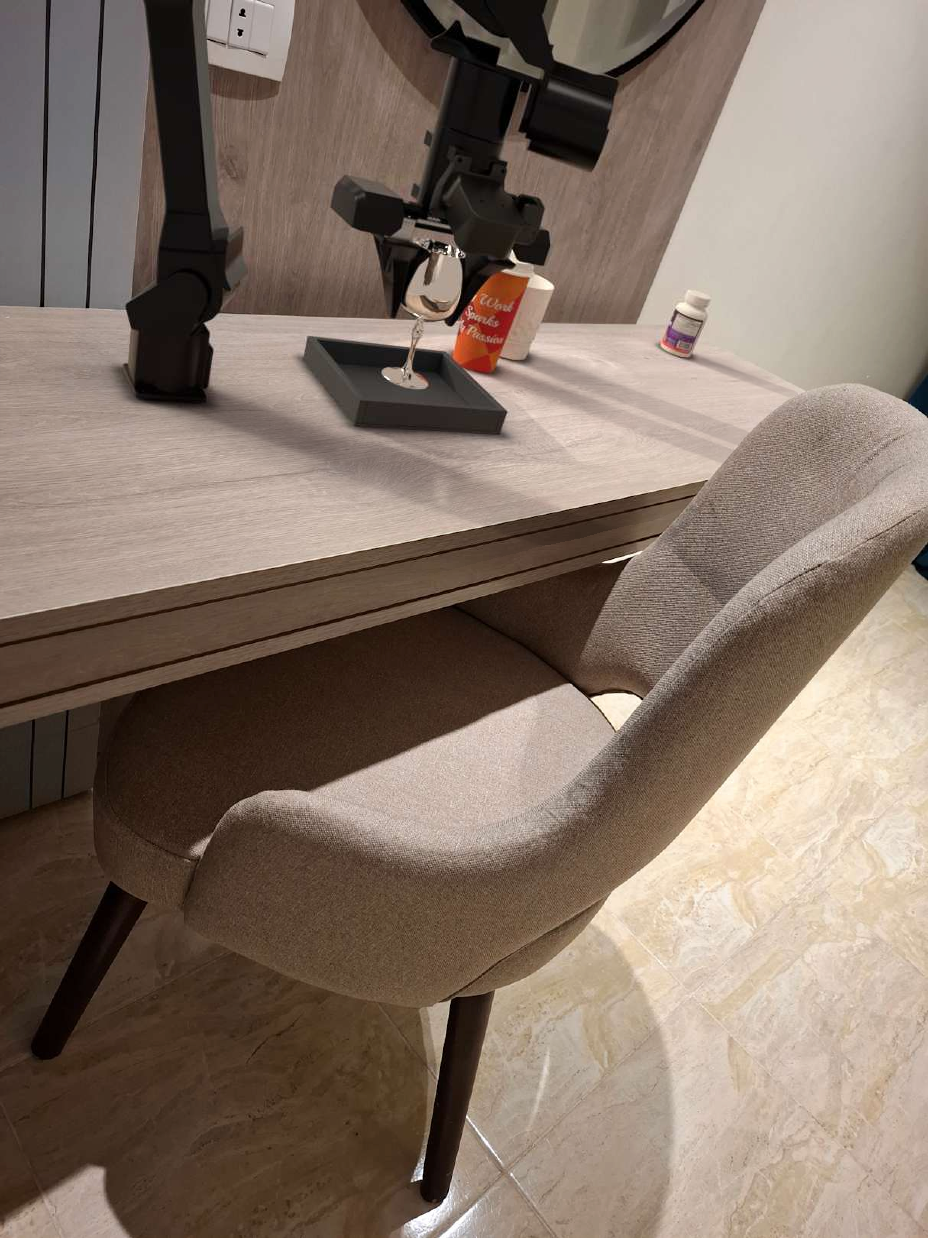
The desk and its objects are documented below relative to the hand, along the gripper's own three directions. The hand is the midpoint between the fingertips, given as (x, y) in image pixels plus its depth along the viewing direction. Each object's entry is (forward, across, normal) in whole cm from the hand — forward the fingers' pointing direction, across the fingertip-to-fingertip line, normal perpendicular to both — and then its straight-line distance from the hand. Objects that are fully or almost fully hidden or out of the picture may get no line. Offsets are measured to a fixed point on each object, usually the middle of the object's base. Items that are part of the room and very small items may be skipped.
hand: (419, 320), depth 81 cm
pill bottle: (+13, +71, +41) cm, 83 cm away
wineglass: (+6, 0, 0) cm, 6 cm away
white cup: (+13, +31, +31) cm, 46 cm away
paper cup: (+13, +23, +25) cm, 36 cm away
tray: (+13, +7, +13) cm, 19 cm away
